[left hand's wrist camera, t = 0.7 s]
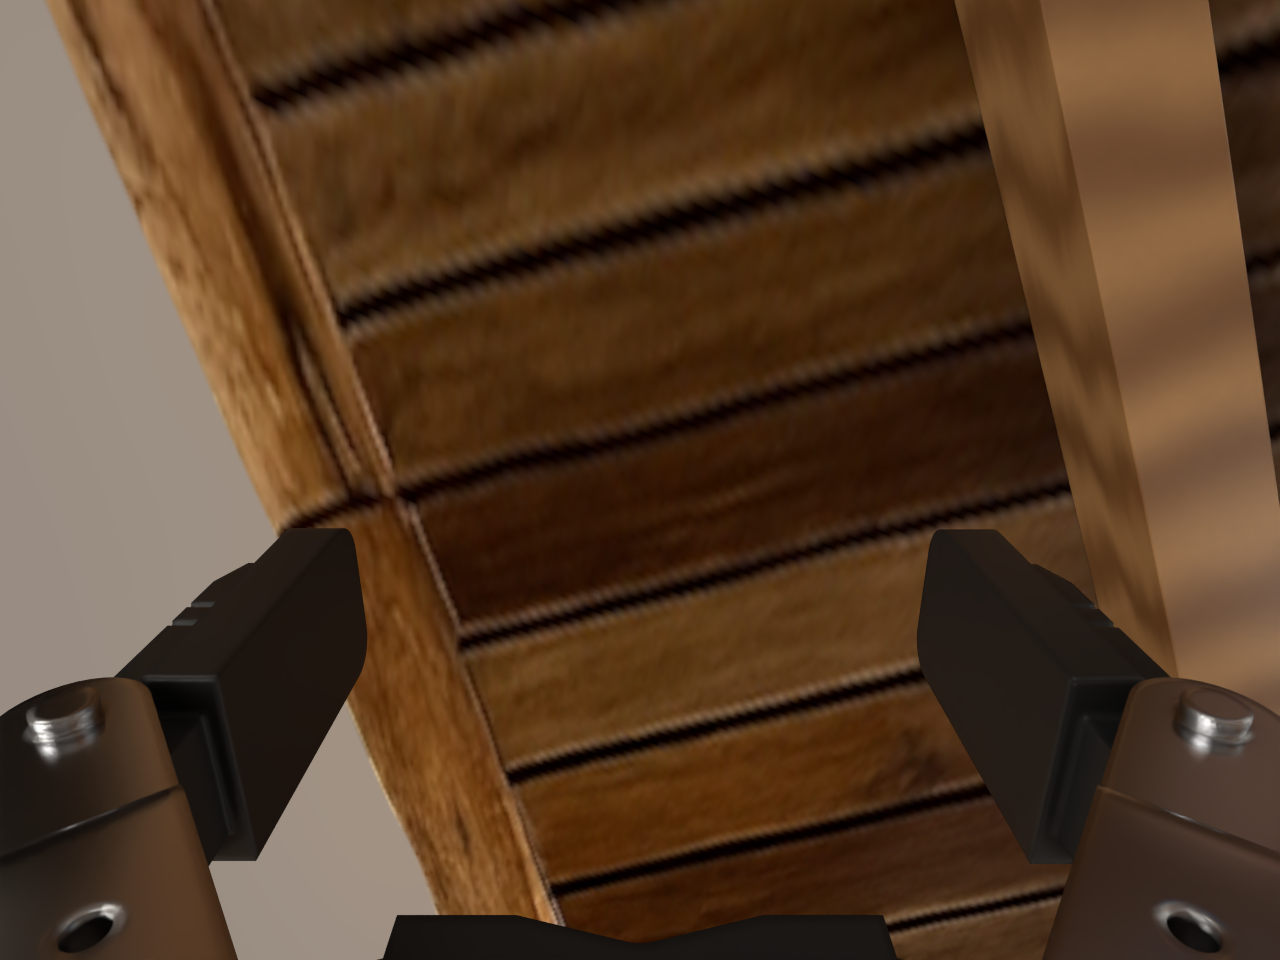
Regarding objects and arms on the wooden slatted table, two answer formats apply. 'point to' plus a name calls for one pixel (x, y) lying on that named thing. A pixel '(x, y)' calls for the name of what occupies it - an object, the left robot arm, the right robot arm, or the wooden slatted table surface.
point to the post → (1141, 317)
